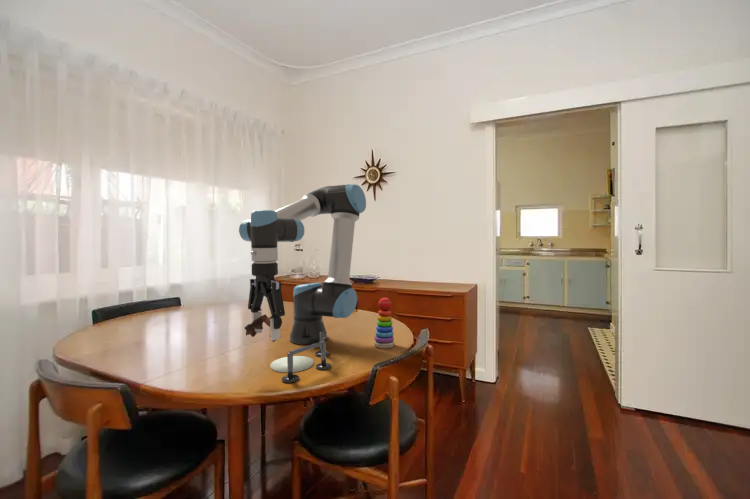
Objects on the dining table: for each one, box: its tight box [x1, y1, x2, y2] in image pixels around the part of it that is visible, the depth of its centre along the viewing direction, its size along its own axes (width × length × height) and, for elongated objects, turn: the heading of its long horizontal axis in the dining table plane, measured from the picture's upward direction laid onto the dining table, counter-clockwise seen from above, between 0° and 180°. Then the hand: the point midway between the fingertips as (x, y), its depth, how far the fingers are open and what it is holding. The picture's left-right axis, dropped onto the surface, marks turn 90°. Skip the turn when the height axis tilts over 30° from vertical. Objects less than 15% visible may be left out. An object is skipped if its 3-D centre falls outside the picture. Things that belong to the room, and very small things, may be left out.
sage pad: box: [269, 355, 315, 374], centre depth 118 cm, size 14×14×1 cm
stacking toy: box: [373, 297, 396, 349], centre depth 137 cm, size 8×8×19 cm
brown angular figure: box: [243, 313, 283, 343], centre depth 108 cm, size 12×10×8 cm
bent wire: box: [281, 331, 332, 384], centre depth 117 cm, size 15×26×8 cm, turn 139°
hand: (266, 336), depth 107 cm, fingers closed on brown angular figure, 10 cm apart
